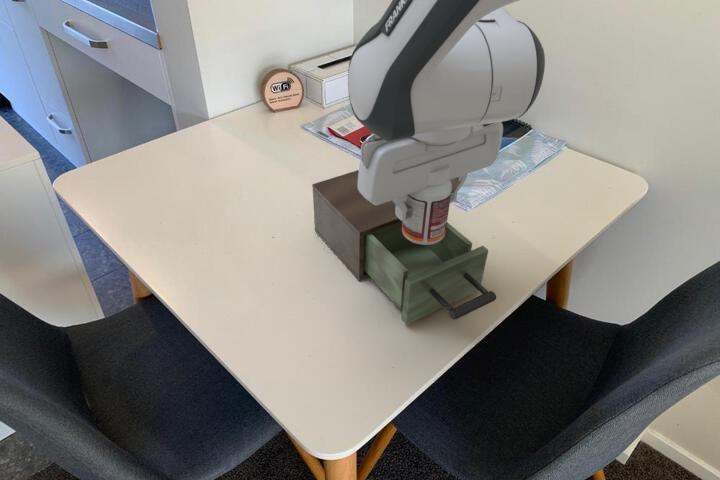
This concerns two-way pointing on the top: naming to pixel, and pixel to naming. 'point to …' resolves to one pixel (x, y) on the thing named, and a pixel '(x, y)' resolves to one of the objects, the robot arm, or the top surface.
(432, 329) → the top surface
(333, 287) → the top surface
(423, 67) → the robot arm
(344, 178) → the cabinet
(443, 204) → the pill bottle
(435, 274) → the drawer
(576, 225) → the top surface
